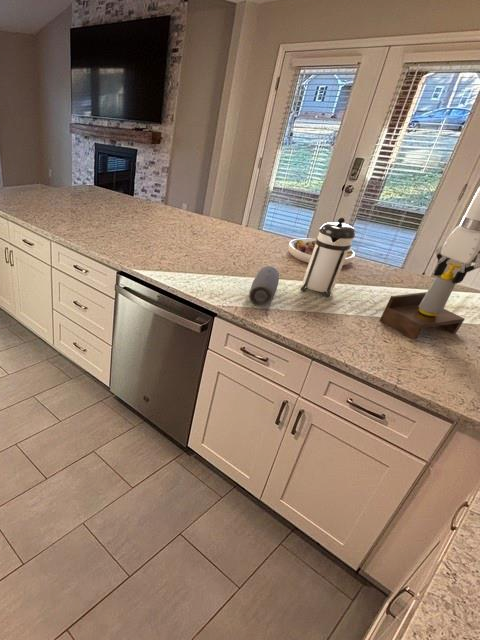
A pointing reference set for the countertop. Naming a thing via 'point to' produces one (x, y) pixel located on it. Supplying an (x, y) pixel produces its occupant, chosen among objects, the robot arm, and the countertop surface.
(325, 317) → the countertop surface
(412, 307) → the shelf
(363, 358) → the countertop surface
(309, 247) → the bowl
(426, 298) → the soap bottle
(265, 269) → the bluetooth speaker
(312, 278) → the coffee press
